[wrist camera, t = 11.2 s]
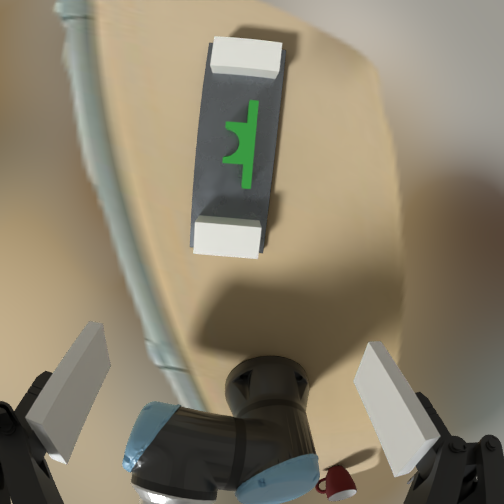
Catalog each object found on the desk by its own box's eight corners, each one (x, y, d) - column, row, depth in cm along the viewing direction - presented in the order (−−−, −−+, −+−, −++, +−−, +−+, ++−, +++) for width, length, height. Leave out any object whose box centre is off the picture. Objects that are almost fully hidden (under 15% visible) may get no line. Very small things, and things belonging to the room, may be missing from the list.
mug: (316, 479, 67) (322, 506, 57) (310, 470, 64) (316, 499, 55) (350, 468, 66) (358, 494, 56) (346, 458, 63) (355, 486, 54)
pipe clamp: (229, 103, 34) (228, 97, 30) (256, 106, 35) (259, 100, 31) (222, 183, 38) (220, 187, 34) (249, 185, 38) (250, 189, 34)
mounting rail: (262, 250, 42) (265, 263, 37) (191, 244, 41) (185, 256, 37) (284, 52, 33) (290, 40, 28) (210, 45, 32) (206, 32, 28)
